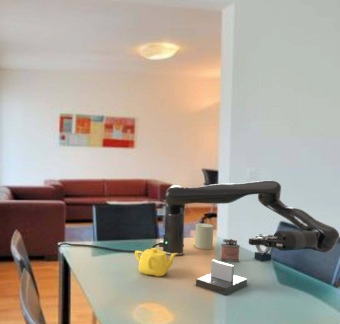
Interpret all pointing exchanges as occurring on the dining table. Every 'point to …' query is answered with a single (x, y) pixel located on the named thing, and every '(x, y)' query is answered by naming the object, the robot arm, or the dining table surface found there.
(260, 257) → the watch
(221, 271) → the knob
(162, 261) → the teapot
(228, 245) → the lighter
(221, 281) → the hob panel
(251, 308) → the dining table surface
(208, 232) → the can
